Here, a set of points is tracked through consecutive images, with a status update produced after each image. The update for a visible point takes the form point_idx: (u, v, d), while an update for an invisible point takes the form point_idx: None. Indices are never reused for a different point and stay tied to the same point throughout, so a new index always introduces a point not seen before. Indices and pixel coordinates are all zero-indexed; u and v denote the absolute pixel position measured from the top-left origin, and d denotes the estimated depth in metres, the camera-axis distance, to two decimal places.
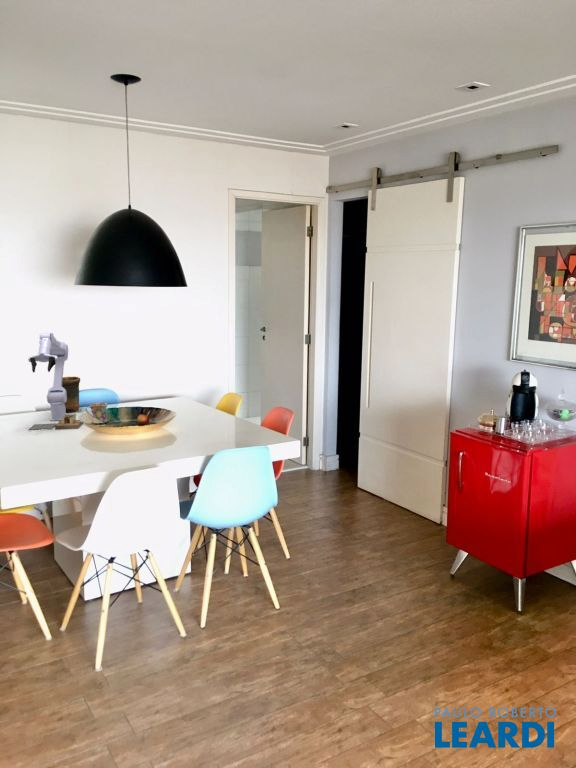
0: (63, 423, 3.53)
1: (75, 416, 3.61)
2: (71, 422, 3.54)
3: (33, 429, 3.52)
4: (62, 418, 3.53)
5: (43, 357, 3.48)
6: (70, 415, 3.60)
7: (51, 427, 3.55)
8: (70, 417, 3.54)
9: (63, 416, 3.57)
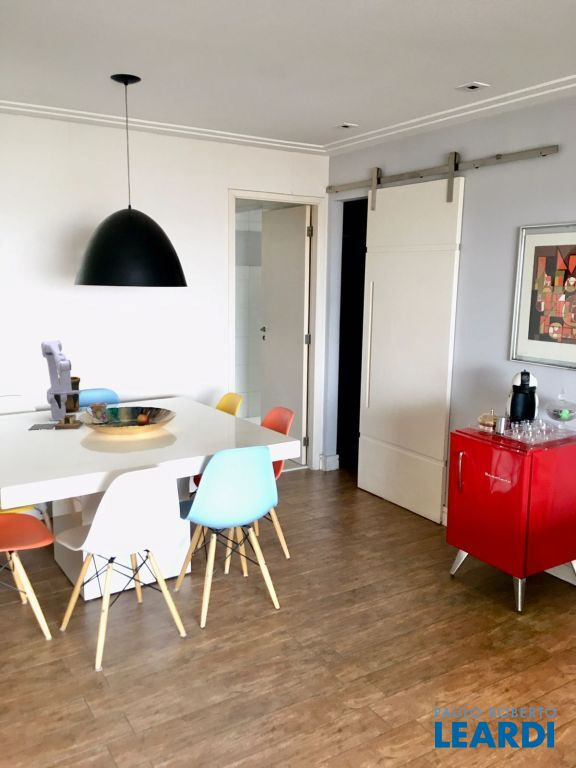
0: (63, 423, 3.53)
1: (75, 416, 3.61)
2: (71, 422, 3.54)
3: (33, 429, 3.52)
4: (62, 418, 3.53)
5: None
6: (70, 415, 3.60)
7: (51, 427, 3.55)
8: (70, 417, 3.54)
9: (63, 416, 3.57)
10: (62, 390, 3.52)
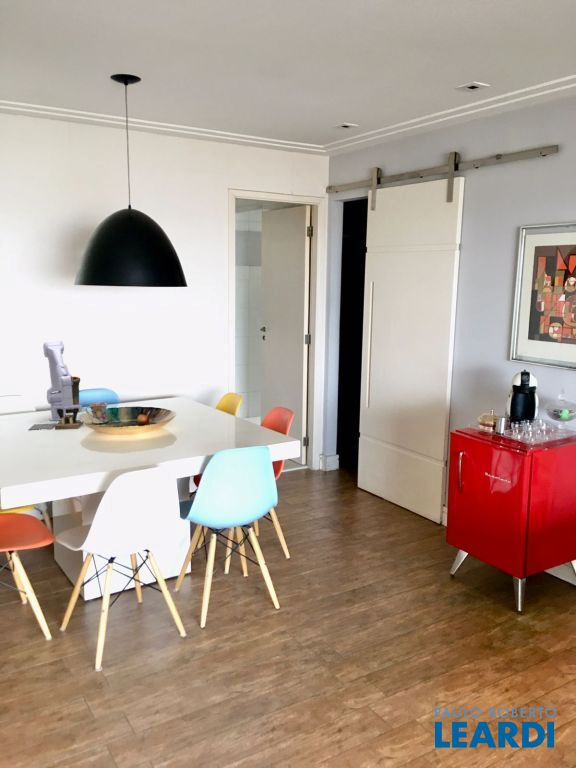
0: (63, 423, 3.53)
1: None
2: (71, 422, 3.54)
3: (33, 429, 3.52)
4: (62, 418, 3.53)
5: None
6: (70, 415, 3.60)
7: (51, 427, 3.55)
8: (70, 417, 3.54)
9: (63, 416, 3.57)
10: (63, 405, 3.53)
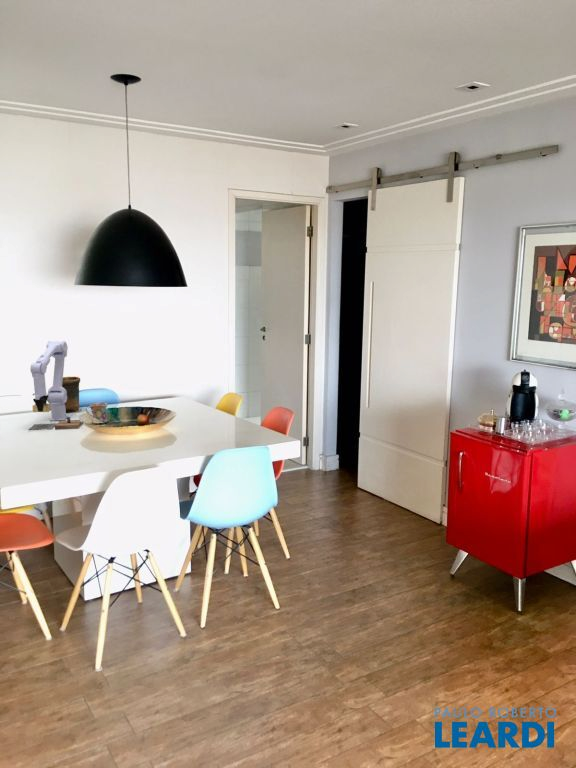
0: None
1: (47, 407, 3.53)
2: None
3: (33, 429, 3.52)
4: (35, 404, 3.57)
5: None
6: (46, 404, 3.55)
7: (51, 427, 3.55)
8: (35, 405, 3.54)
9: None
10: None
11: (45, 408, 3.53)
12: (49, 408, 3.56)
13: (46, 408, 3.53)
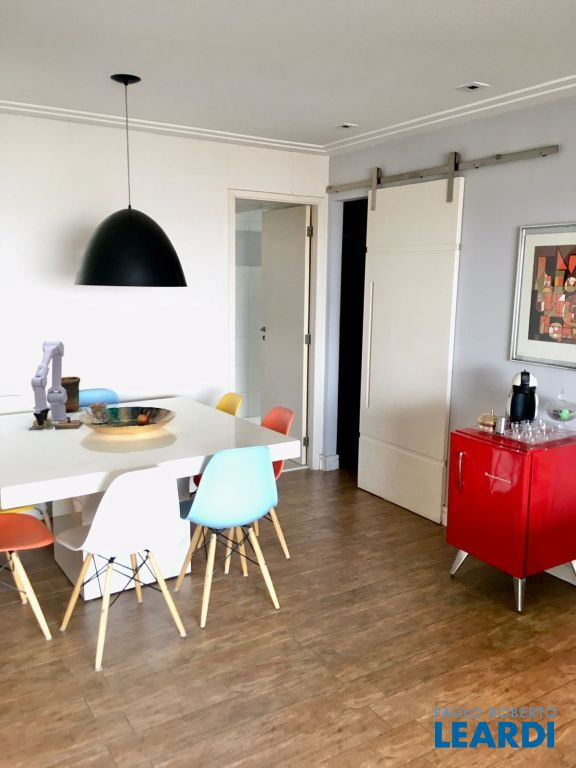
0: None
1: (48, 422, 3.55)
2: None
3: (33, 429, 3.52)
4: None
5: None
6: (47, 420, 3.57)
7: (51, 427, 3.55)
8: (35, 420, 3.55)
9: None
10: None
11: (46, 423, 3.55)
12: (50, 423, 3.58)
13: (47, 423, 3.55)
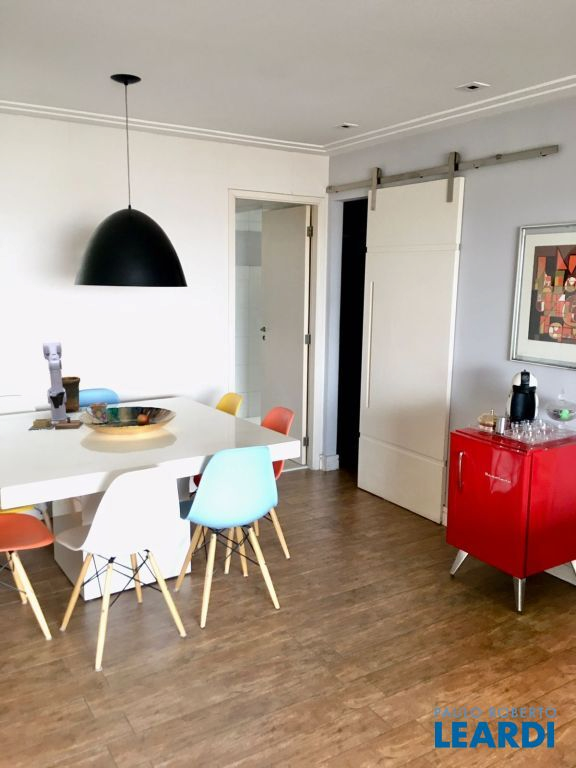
0: None
1: (48, 422, 3.55)
2: None
3: (33, 429, 3.52)
4: None
5: None
6: (47, 420, 3.57)
7: (51, 427, 3.55)
8: (35, 420, 3.55)
9: None
10: None
11: (46, 423, 3.55)
12: (50, 423, 3.58)
13: (47, 423, 3.55)
